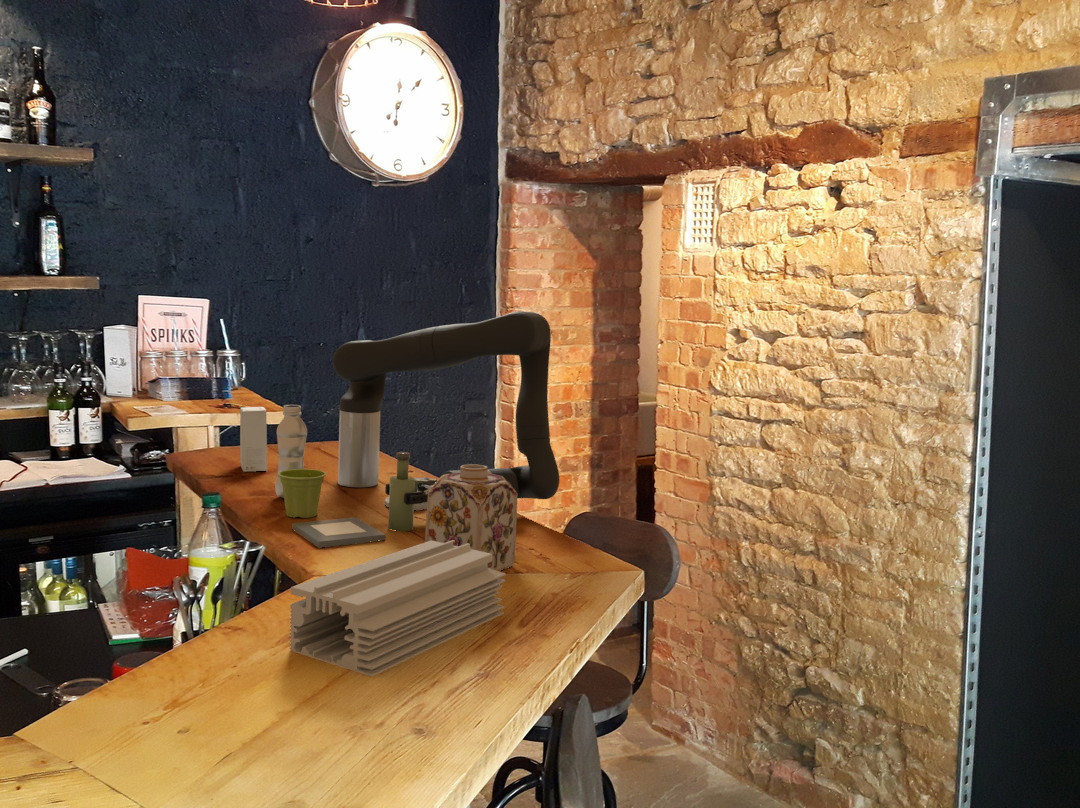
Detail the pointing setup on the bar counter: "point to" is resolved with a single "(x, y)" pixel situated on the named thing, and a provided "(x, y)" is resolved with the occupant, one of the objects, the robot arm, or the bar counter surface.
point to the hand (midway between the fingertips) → (395, 494)
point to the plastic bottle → (290, 443)
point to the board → (337, 532)
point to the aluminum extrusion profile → (394, 606)
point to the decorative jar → (474, 513)
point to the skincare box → (253, 439)
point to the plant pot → (301, 491)
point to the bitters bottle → (401, 496)
